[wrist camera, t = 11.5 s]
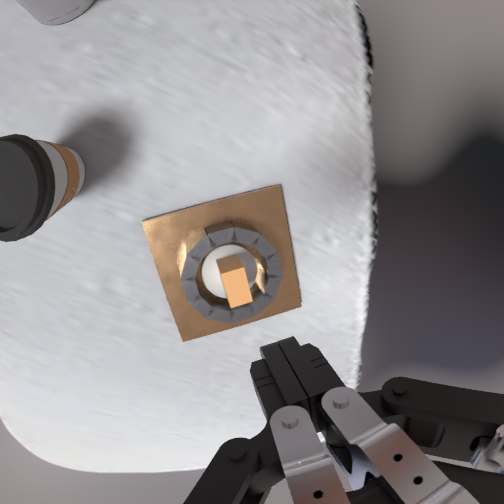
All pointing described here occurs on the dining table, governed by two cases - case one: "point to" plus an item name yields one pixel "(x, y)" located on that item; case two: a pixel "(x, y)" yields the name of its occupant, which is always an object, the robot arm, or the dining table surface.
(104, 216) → the dining table surface
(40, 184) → the coffee cup
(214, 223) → the board with grey ring
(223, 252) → the cap
